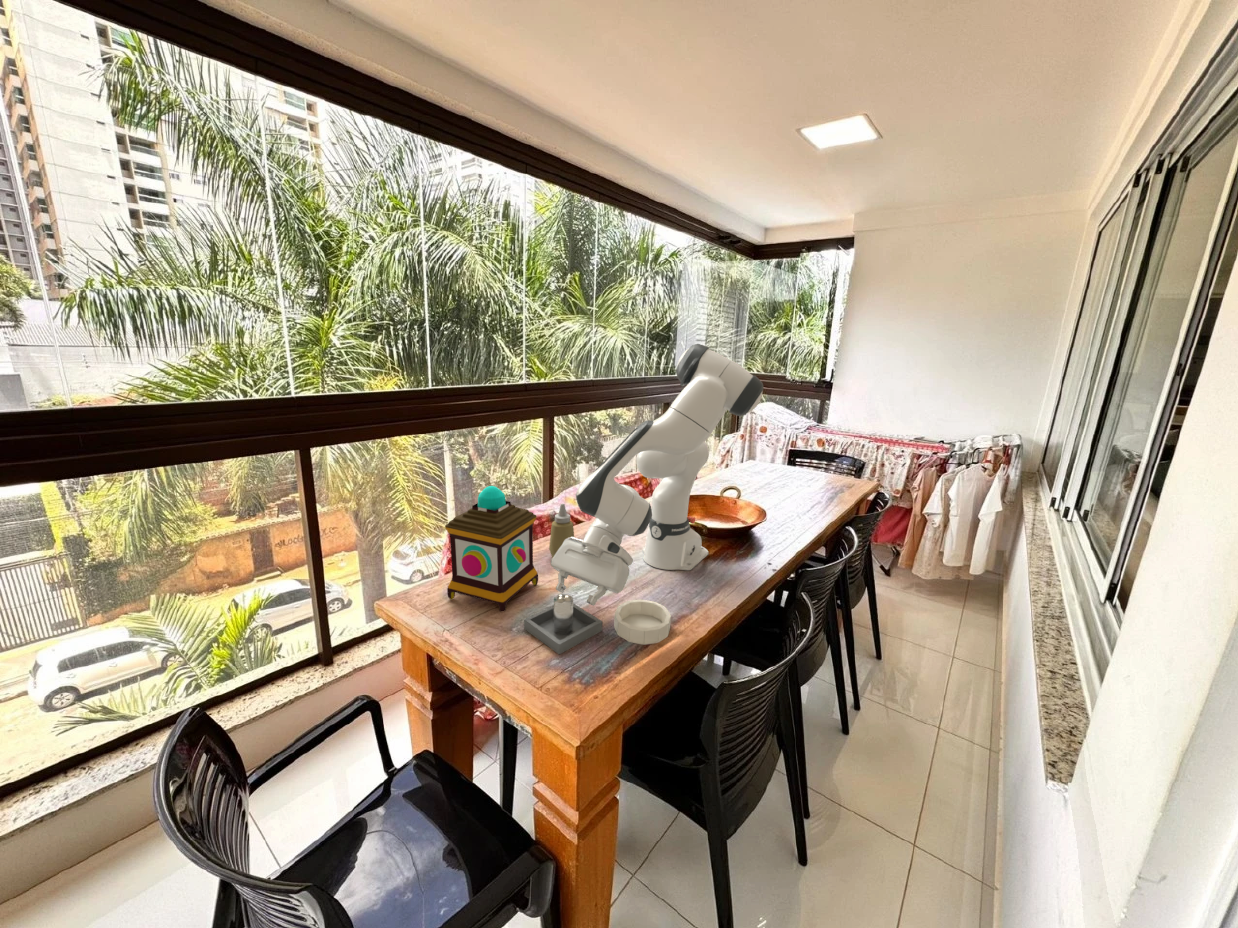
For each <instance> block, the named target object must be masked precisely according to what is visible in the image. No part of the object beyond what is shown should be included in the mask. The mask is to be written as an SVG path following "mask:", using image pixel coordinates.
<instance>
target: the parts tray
mask: <svg viewBox="0 0 1238 928" xmlns="http://www.w3.org/2000/svg"><path fill="white" fill-rule="evenodd" d="M523 629H524V630H525V631H526V632H527V633H529V634H530V635H532V636H533V637H535V638H536V639H538V641H540V642H541V643H543V644H544V645H545V646H547V647H548V648H549V649H551V650H553V651H554V652H555V653H556V654H558V655H561V654H563V653H565V652H567V651H569V650H570V649H572V648H574V647H576V646H577V645H579V644H582V643H583V642H585V641H587V640H588V639H590V638H592V637H593V636H596V635H597V634H599V633H600V632H602V631H603V620H601V619H599V618H598V617H597V616H595V615H593V614H592V613H590V612H588V611H587V610H585V609H583V608H582V607H580V606H578V605H577V604H575V603H573V631H572V632H571V633H570V634H568V635H558V634H556V633H555V632H554V604H553V605H552V606H549V607H547V608H545V609H543V610H541V611H538V612H537V613H534V614H532V615H530V616H528V617H526V618H523Z"/></svg>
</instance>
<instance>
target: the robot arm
mask: <svg viewBox="0 0 1238 928" xmlns="http://www.w3.org/2000/svg"><path fill="white" fill-rule="evenodd" d="M675 373H676V378H677V380H678V381H679V382H680V386H681V387H684V386H685V387H684V388H683V389H682V390H681V392H679V393H678V394H677V396H676V397H675V399H674V400H673V402H672V403H671V405H670V406H669V407H668V409H667V410H666V411H665V412H664V413H663V414H662V415H660V416H659V417H658V418H656V419H654V420H645V421H643V422H642V423H640V424H639V425H638V426H636V427H634V428H635V429H633V430H632V431H631V432H630V434H628V435H627V436H626V437H625V438H624V439H623V440H622V441H621V443H620V444H618V445H617V447H616V448H615V449H614V450H613V451H612V452H611V453H610V454H609V455H608V456H607V457H606V458H605V459H604V461H602V463H601V464H600V465H599V466H598V467H597V468H596V469H594V470H593V471H592V472H591V473H590V474H589V475H588V476H587V477H585V478H584V479H583V480H582V482H581V483H580V484H579V486H578V488H577V491H576V493H575V498H576V503H577V506H578V509H580V511H581V512H583V513H585V514H587V515H589V516H591V517H594V518H595V519H594V521H593V522H592V523H591V524H590V526H589V527H588V529H587V531H586V533H585V535H584V536H583V538H578V537H576V536H574V537H571V538H567V539H565V540H564V542H563V544H562V545H561V547H560V548H559V549H558V551H557V552H556V554H555V555H554V557H553V558H551V561H550V565H551V567H552V568H553V569H554V570H555V571H557V572H558V574H557V575H558V576H557V577H558V578H557V579H558V580H557V581H558V583H557V585H556V586H555V590H556V591H557V592H559V593H562V594H564V593H565V590H566V589H567V586H566V585H565V580H566V579H568V577H569V576H570V577H573V578H575V579H578V580H580V581H583V582H585V583H588V584H591V585H593V586H596V590H597V591H596V592H595V593H594V594H589V595H588V598H587V599H586V603H587V604H589V605H591V606H593V607H594V606H596V603H597V602H598V600H599V599H601V598H602V597H604V596H605V594H606V592H607V591H609V592H612V593H614V594H619V593H621V592H622V591H623V590H624V589H625V586H626V583H627V581H628V578H629V576H630V566H632V564H633V563H634V558H633V557H632V556H631V554H630V553H629V552H628V551H627V550H626V549H625V548H624V547H623V546H622V545H621V544H622V542H623V537H624V536H626V535H627V536H628V537H635V536H639V535H642V534H644V533H645V531H646V530H647V533H646V537H645V545H644V546H643V547H642V553H643V560H644V562H645V564H647V565H649V566H651V567H654V568H656V569H660V570H669V571H670V570H671V571H674V570H675V571H676V570H681V571H691V570H692V569H693V568H695V567H696V566H697V565H698V564H699V563H700V562H701V561H702V560H703V559H705V558H706V557H707V556H709V551H708V549H707V548H706V547H704V546H702V542H703V541H702V537H701V535H700V534H699V533H698V532H696V531H695V530H694V529H692V528H691V525H690V524H692V525H693V524H694V523H695V522H696V518H695V516H691V515H689V516H688V513H689V502H690V496H691V491H692V489H693V486H694V483H695V481H696V478H697V476H698V475H699V472H700V471H701V469H702V468H703V467H704V466H705V465H706V464H707V462H708V459H709V456H710V453H709V447H708V445H707V443H706V441H707V440H708V439H709V438H710V436H711V434H713V432H714V430H715V429H716V427H717V426H718V425H719V423H720V421H721V420H722V418H723V416H724V415H725V413H726V412H727V411H728V412H729V414H732V415H735V416H738V417H742V416H743V417H744V416H746V415H747V414H749V413H751V412H752V411H754V410H755V408H757V406H758V405H759V404H760V402H761V400H762V397H763V391H764V389H765V388H764V384H763V382H762V381H761V380H760V378H758V377H757V375H754V374H752V373H750V372H749V371H748V370H747V369H745V368H744V367H742V366H741V365H740V364H738V363H737V362H736V361H734V360H731V359H729V358H728V357H726V356H724V355H722V354H721V353H718V352H716V351H714V350H712V349H710V347H708V346H706V345H704V344H700V343H695V344H692V345H691V346H690V347H689V348H687V349H686V350H685V351H684V352H682V354H681V355H680V357H679V359H678V361H677V365H676V370H675ZM635 456H636V458H635V462H636V468H637V469H638V472H639V473H640V474H641V475H642V476H643V477H645V478H647V479H658V480H659V479H660V480H661V481H660V482H659V484H658V485H657V486H656V487H655V488H654V490H653V492H652V497H651V504H650V502H649V501H648V500H647V499H645V498H643V497H642V496H640V494H639V492H638V491H637V490H636V489H635V488H634V487H631V486H630V485H627V484H622V483H621V484H620V483H619V482H617V481H616V480H615V478H616V476H617V475H618V474H619V473H620V472H621V471H622V470H623V469H624V468H625V467H626V466H627V465H628V464H629V463H630V462H631V461H632V460H633V459H634V457H635ZM569 539H570V540H569Z"/></svg>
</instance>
